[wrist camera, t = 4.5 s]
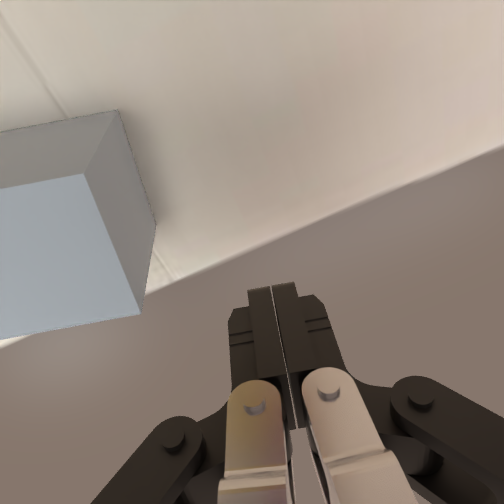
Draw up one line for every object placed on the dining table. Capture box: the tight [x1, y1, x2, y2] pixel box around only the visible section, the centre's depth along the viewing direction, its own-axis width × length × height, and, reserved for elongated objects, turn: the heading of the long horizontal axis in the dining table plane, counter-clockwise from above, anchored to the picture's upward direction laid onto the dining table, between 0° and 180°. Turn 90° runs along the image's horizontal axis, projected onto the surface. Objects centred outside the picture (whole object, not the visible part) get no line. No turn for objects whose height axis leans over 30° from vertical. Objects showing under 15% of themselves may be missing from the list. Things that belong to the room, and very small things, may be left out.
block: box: [0, 110, 156, 340], centre depth 21 cm, size 7×9×8 cm
